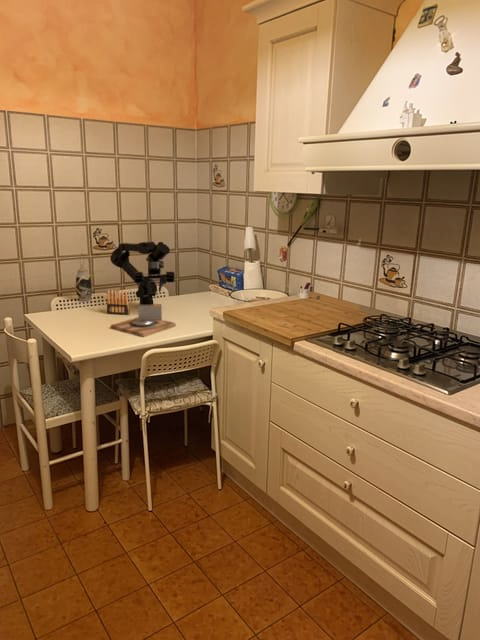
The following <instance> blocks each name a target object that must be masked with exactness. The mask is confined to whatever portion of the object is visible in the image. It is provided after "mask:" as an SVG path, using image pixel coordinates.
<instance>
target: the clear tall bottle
mask: <svg viewBox="0 0 480 640" xmlns="http://www.w3.org/2000/svg"><path fill="white" fill-rule="evenodd" d="M81 255H82V258H83V260H85V256H84V255H83V253H80V255H79V258H81ZM79 264H80V268H79V269H77V275H75V276H76V278H75V290H76V291H75V292H76V295H77V298H78V297H79V301H78V302H90V301H91V300H92V296H93V295H92V293H93V291H92V281H91V280H92V275H91V274H89V272H88V271H89V269H87V268H86V267H85V266H84V264H85V261H83V263H81V261H79Z"/></svg>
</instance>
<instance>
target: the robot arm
mask: <svg viewBox="0 0 480 640" xmlns="http://www.w3.org/2000/svg"><path fill="white" fill-rule="evenodd" d="M130 252H138V253H139V254H141V255H147V257H146V258H145V260H146V262H147V273H143V271H139V270H138V269H137V268H136V267H135V266H134V265H133V264H132V263H131V262H130V256H131V253H130ZM169 253H170V247H169V246H168V245H167V244H165V243H164V242H163V241H159V242H158V243H157V244H156V243H155V241H152V240H151V241H143V242H139V243H136V242H133V243H131V242H122V243H119V244H118V247H117V248H115V249H114V250H113V251H112V253H111V254H110V262H111V263H112V264H113V265H114V266H115V267H117V268H120V269H122V270H123V271H124V272H125V273H126V274H127V275H128V276H129V277H130V279H132V280H133V282H134V283H135V284H136V285H137V291H136V292H135V296H136V298H138V299H139V305H149V304H154V298H153V297H156V295H157V290H158V293H160V292H162V291H161V290H162V288H163V286H164V285H165V284H167V283H175V271H173V270H172V271H171V270H170V271H165V273H164V274H162V273H161V269H164V268H165V267H164V260H163V259H165V257H167V255H169ZM154 280H159V283H158V284H159V285H158V286H157V284H156V281H154Z"/></svg>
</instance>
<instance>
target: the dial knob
mask: <svg viewBox="0 0 480 640" xmlns="http://www.w3.org/2000/svg"><path fill="white" fill-rule="evenodd" d="M137 309H138V311H137V312H138V313H137V314H138V316H137V317H139V318H136V317H135V318H136V319H133V318H132V319H133V320H132V325H134V326H151V325H153V324H155V321H162V320H163V319H162V318H163V317H162V316H163V315H162V304H161V303H153V304H149V305H140V304H137Z"/></svg>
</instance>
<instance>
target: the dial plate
mask: <svg viewBox="0 0 480 640" xmlns="http://www.w3.org/2000/svg"><path fill="white" fill-rule="evenodd" d="M136 318H139V316H137V317H133V318H130V319H127V320H123V321H120V322H116V323H112V324H111V325H110V329H112V330H116V331H119V332H123V333H128V334H129V335H134V336H137V337H141V338H146V337H148V336H151V335H153V334H154V335H155V334H157V333H160V332H163V331H166V330H168V329H171V328H175V327H176V325H177V323H176V322H172V321H169V320H164V319H162V321H155V324H153V325H151V326H134V325H132V320H133V319H136Z"/></svg>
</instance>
